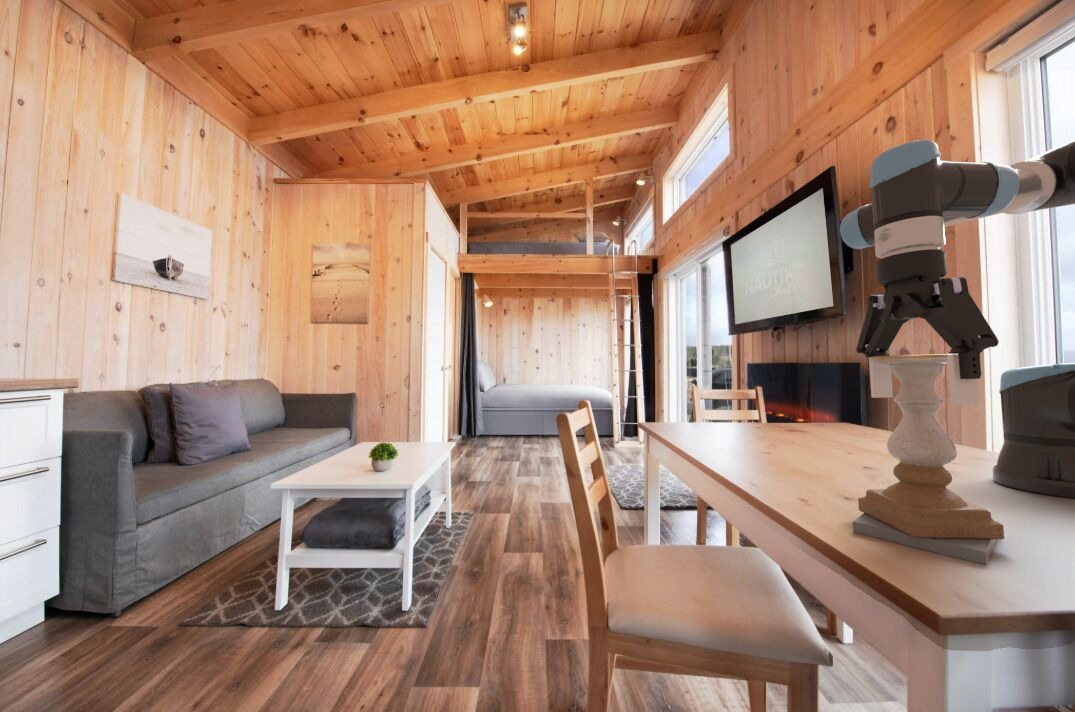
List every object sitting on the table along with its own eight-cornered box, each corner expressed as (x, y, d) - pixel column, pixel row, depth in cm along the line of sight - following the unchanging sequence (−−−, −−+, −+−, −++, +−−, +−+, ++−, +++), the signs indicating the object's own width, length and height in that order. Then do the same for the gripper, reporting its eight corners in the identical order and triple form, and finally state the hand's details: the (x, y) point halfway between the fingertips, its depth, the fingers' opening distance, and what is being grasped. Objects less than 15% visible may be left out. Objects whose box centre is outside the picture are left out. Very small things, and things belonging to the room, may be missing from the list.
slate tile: (879, 511, 67) (878, 502, 67) (998, 535, 56) (997, 524, 56) (853, 531, 59) (852, 521, 59) (986, 564, 48) (985, 552, 48)
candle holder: (856, 509, 64) (849, 357, 64) (932, 510, 62) (924, 355, 63) (914, 538, 53) (904, 355, 53) (1007, 540, 52) (996, 352, 52)
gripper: (827, 275, 72) (834, 395, 71) (965, 226, 47) (978, 410, 46) (871, 273, 71) (879, 394, 70) (1035, 222, 46) (1050, 408, 46)
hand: (918, 401), depth 58 cm, fingers open, 13 cm apart
